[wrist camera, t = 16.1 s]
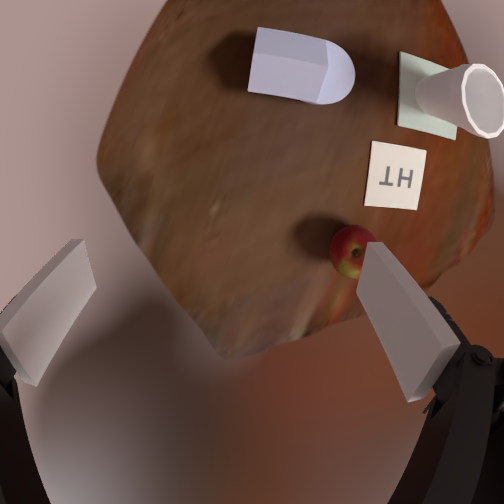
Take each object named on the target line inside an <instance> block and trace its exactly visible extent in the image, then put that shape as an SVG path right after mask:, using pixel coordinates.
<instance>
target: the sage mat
mask: <svg viewBox="0 0 504 504" xmlns="http://www.w3.org/2000/svg"><path fill="white" fill-rule="evenodd" d="M446 70H450V69H447V68H445V67H442V66H440V65H437V64H435V63H432V62H430V61H427V60H424V59H421V58H419V57H416V56H413V55H410V54H407V53H404V52H399V100H398V117H397V126H402V127H407V128H411V129H415V130H420V131H424V132H428V133H432V134H435V135H439V136H443V137H446V138H450V139H453V140H456V130H457V125H454V124H452V123H449V122H447V121H444V120H441V119H439V118H436V117H433V116H431V115H428V114H426V113H424V111H423V110H422V109H421V108H420V107H419V105H418V103H417V101H416V97H415V88H416V85H417V82H419V81H420V80H421V79H422V78H424V77H427V76H430V75H433V74H437V73H440V72H443V71H446Z"/></svg>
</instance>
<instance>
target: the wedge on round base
mask: <svg viewBox="0 0 504 504" xmlns="http://www.w3.org/2000/svg"><path fill="white" fill-rule="evenodd" d="M354 81H355V70H354V66H353V63H352V61H351V59H350V57H349V56H348V54H347V53H346V52H345V51H344V50H343V49H342V48H341V47H339V46H338V45H336V44H334V43H332V42H330V41H327V40H323V39H319V38H315V37H311V36H306V35H302V34H297V33H292V32H286V31H281V30H275V29H268V28H261V27H258V30H257V36H256V41H255V47H254V52H253V59H252V65H251V72H250V79H249V85H248V92H256V93H263V94H270V95H276V96H282V97H288V98H293V99H298V100H301V101H303V102H306V103H309V104H315V105H321V104H331V103H335V102H337V101H340V100H341V99H343V98H344V97H346V96H347V95H348V93H349V92H350V91H351V89H352V87H353V85H354Z"/></svg>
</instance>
